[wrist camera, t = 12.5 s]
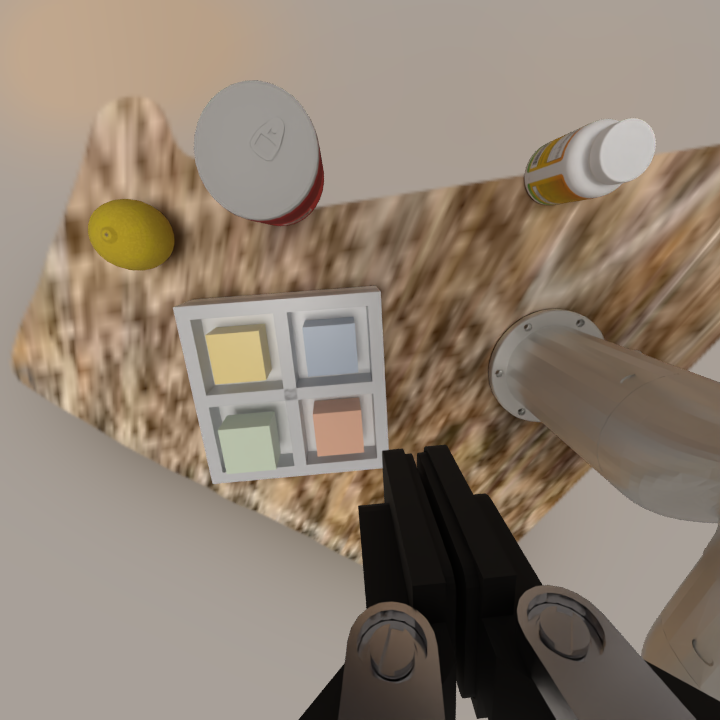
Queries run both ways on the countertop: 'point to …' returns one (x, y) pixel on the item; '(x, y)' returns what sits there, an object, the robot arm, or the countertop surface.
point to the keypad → (288, 376)
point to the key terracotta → (338, 426)
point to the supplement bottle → (590, 161)
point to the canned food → (259, 154)
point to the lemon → (131, 234)
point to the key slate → (330, 346)
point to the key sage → (250, 442)
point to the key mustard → (239, 353)
